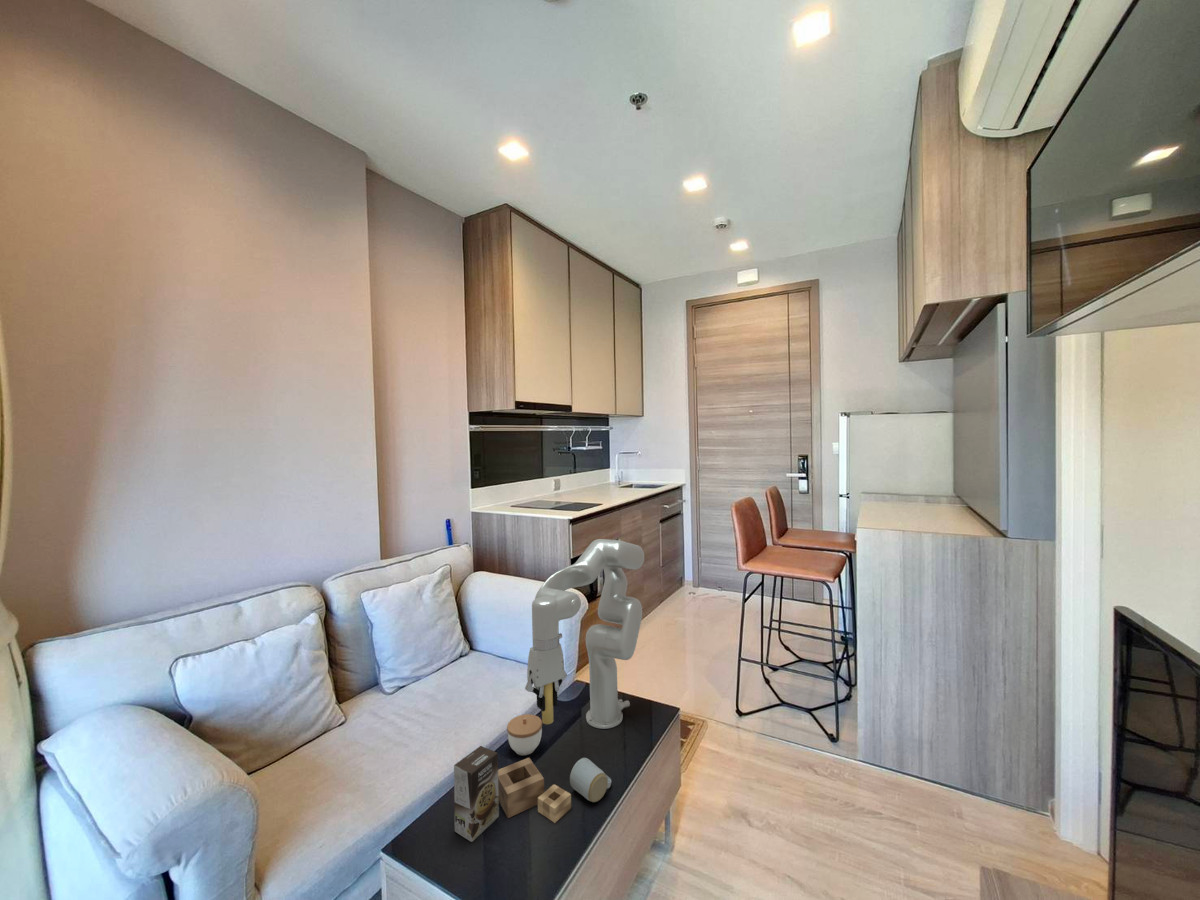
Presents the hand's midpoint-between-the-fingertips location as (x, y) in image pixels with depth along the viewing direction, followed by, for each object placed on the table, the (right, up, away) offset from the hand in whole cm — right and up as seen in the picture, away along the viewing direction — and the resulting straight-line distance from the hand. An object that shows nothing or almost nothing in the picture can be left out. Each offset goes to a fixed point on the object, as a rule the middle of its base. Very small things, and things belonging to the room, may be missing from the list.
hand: (547, 706), depth 129 cm
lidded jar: (-8, -20, +11) cm, 24 cm away
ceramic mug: (+13, -19, -7) cm, 24 cm away
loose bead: (+3, -19, -13) cm, 23 cm away
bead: (-6, -19, -9) cm, 22 cm away
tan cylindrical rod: (0, -4, 0) cm, 4 cm away
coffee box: (-15, -20, -17) cm, 30 cm away
